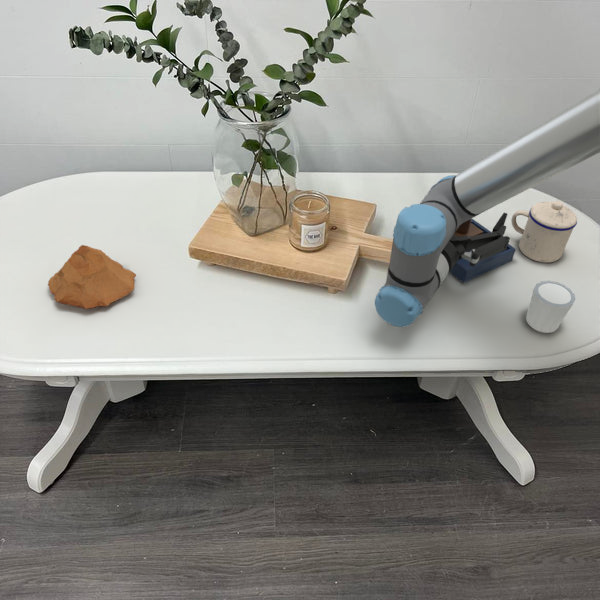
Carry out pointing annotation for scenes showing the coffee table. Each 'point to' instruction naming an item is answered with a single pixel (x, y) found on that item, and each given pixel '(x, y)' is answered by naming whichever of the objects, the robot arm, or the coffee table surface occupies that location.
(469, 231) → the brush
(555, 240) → the teacup with lid
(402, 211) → the robot arm
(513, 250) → the tray
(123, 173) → the coffee table surface
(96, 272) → the stone
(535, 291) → the white short cylinder
